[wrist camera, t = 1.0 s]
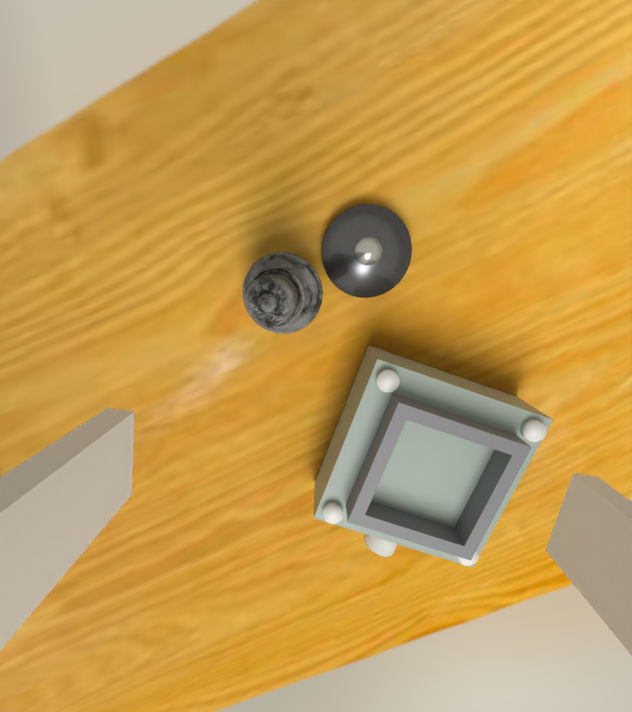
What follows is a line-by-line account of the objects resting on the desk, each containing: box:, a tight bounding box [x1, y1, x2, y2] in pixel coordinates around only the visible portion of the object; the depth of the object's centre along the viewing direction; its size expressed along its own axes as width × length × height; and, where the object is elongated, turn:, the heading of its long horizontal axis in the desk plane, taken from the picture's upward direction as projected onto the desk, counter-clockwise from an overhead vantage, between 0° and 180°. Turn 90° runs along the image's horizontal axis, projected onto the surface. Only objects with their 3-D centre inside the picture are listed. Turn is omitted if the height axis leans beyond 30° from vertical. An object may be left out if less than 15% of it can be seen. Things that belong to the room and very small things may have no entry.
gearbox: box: [314, 345, 553, 567], centre depth 29 cm, size 14×16×7 cm
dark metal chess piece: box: [243, 252, 323, 333], centre depth 23 cm, size 6×6×12 cm
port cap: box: [322, 204, 412, 298], centre depth 27 cm, size 7×7×2 cm
